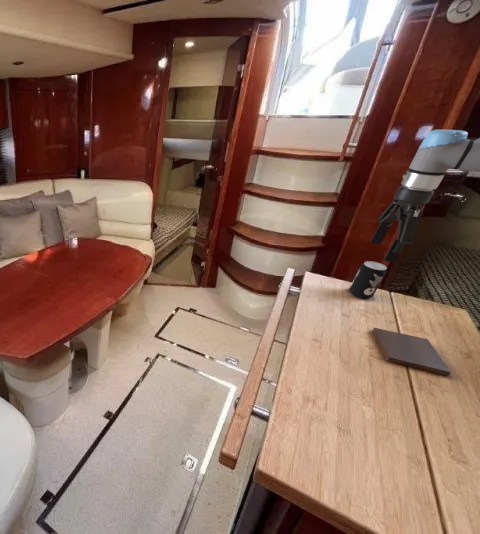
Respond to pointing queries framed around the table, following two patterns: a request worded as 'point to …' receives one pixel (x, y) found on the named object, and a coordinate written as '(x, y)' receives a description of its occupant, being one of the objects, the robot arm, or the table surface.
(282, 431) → the table surface
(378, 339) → the walnut board
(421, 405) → the table surface
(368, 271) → the beverage can
